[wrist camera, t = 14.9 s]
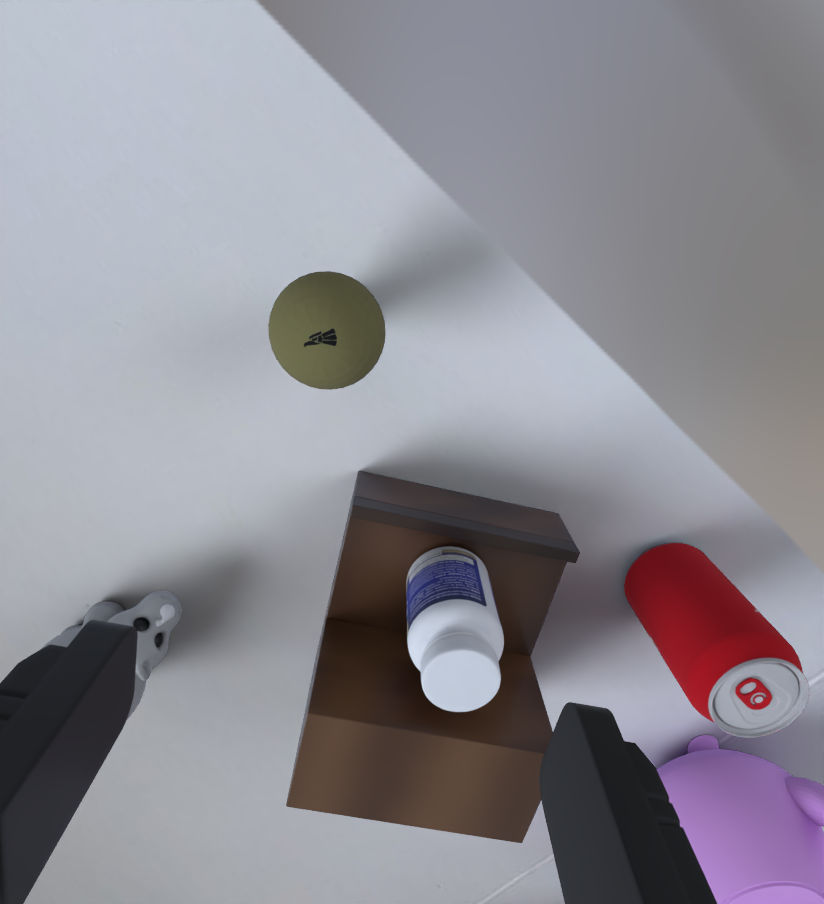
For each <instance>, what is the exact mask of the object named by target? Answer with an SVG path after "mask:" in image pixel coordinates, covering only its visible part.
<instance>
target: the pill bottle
mask: <svg viewBox="0 0 824 904" xmlns="http://www.w3.org/2000/svg"><path fill="white" fill-rule="evenodd" d="M406 596H407V644H408V650H409V654H410V657H411V659H412V661H413V663H414V664H415V666H416V667H417V669H418V670H419V671H420V672H421V684H422V689H423V691H424V693H425V695H426V697H427V698H428V699H429V701H431V702H432V703H433V704H434V705H436V706H437V707H439V708H441V709H444V710H447V711H453V712H467V711H471V710H475V709H478V708H480V707H482V706H484V705H486V704H487V703H488V702H489V701H491V700H492V698H493V697H494V696H495V695H496V693H497V692H498V689H499V687H500V682H501V674H500V668H499V662H498V661H499V660H500V657H501V655H502V652H503V647H504V635H503V630H502V625H501V622H500V618H499V614H498V611H497V607H496V603H495V599H494V595H493V591H492V587H491V582H490V578H489V575H488V572H487V569H486V567H485V565H484V564H483V562H482V561H481V560H480V559H479V558H478V557H477V556H476V555H475V554H473V553H472V552H470V551H468V550H466V549H463V548H459V547H453V546H446V547H439V548H435V549H432V550H430V551H428V552H426V553H424V554H423V555H421V556H420V557H419V558H418V559H417V560H416V561H415V562H414V563H413V565H412V566H411V568H410V570H409V572H408V575H407V580H406Z"/></svg>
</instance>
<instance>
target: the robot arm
mask: <svg viewBox="0 0 824 904" xmlns="http://www.w3.org/2000/svg"><path fill="white" fill-rule="evenodd" d="M137 639H138V633H137V628H136V627H134V626H129V625H123V624H117V623H111V622H105V621H99V620H90V621H89V622H87V623H86V624H85V626H84V627H83V628H82V629H81V630H80V632H79V633H78V634H77V635H76V637H75V638H74V639H73V640H72V642H71V643H70V644H69V645H68V647H63V646H57V645H51V644H49V645H47V646H46V647H44V648H43V649H41V650H39V651H38V652H36V653H34V654H33V655H31V656H29V657H28V658H26V659H25V660H23V661H21V662H20V663H18V664H17V665H16V666H15V668H14V669H13V670H12V671H11V672H10V673H9V674H8V675H7V677H6V678H5V679H4V680H3V681H2V682H1V683H0V904H23V903H24V901H25V899H26V898H27V896H28V894H29V892H30V891H31V889H32V887H33V885H34V884H35V882H36V880H37V878H38V877H39V875H40V873H41V871H42V870H43V868H44V866H45V864H46V862H47V861H48V859H49V857H50V855H51V854H52V852H53V850H54V848H55V847H56V845H57V843H58V841H59V840H60V838H61V836H62V834H63V833H64V831H65V829H66V827H67V826H68V824H69V822H70V820H71V818H72V817H73V815H74V813H75V811H76V810H77V808H78V806H79V804H80V803H81V801H82V799H83V797H84V796H85V794H86V792H87V790H88V789H89V787H90V785H91V783H92V782H93V780H94V778H95V776H96V774H97V773H98V771H99V769H100V767H101V766H102V764H103V762H104V760H105V759H106V757H107V755H108V753H109V752H110V750H111V748H112V746H113V745H114V743H115V741H116V739H117V738H118V736H119V734H120V732H121V730H122V729H123V727H124V724H125V722H126V720H127V717H128V715H129V712H130V709H131V705H132V701H133V697H134V689H135V672H136V656H137ZM539 786H540V795H541V800H542V805H543V809H544V813H545V818H546V822H547V827H548V831H549V835H550V840H551V844H552V848H553V853H554V857H555V861H556V866H557V870H558V875H559V879H560V883H561V888H562V892H563V896H564V901H565V904H717V902H716V899H715V897H714V895H713V893H712V890H711V888H710V886H709V884H708V882H707V879H706V877H705V875H704V873H703V871H702V868H701V866H700V864H699V862H698V860H697V857H696V855H695V853H694V851H693V849H692V846H691V844H690V842H689V840H688V838H687V835H686V833H685V831H684V829H683V827H680V820H679V818H678V815H677V813H676V811H675V809H674V807H673V804H672V803H670V802H669V796H668V793H667V791H666V789H665V787H664V785H663V782H662V780H661V778H660V776H659V774H658V771H657V769H656V768H655V767H654V766H653V764H652V763H651V762H650V761H649V759H648V758H647V757H646V756H645V755H644V753H643V752H642V751H641V750H640V749H639V747H638V746H637V745H636V744H635V743H631V742H625V741H624V740H623V738H622V735H621V733H620V730H619V728H618V726H617V723H616V721H615V718H614V716H613V714H612V713H611V711H610V710H608V709H606V708H601V707H595V706H589V705H583V704H577V703H571V702H569V703H567V704H566V705H565V706H564V707H563V710H562V712H561V714H560V717H559V719H558V722H557V724H556V727H555V729H554V732H553V734H552V737H551V739H550V742H549V744H548V746H547V749H546V751H545V754H544V756H543V759H542V763H541V767H540V777H539Z"/></svg>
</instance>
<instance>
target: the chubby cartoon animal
mask: <svg viewBox="0 0 824 904" xmlns="http://www.w3.org/2000/svg"><path fill="white" fill-rule="evenodd" d="M181 615H182V605H181V603H180V601H179V599H178V598H177V597H176V596H175V595H174V594H173V593H170V592H167V591H155V592H152V593H150V594H149V595H147V596H146V597H145V598H144V599H143V600H142V601H141V602H140V603H139V604H138V605H137V606H135V607H133V608H131V609H128V610H125V611H124V610H123V608H122V607H121V606H120V605H119V604H117V603H114V602H109V601H104V602H99V603H97V604H95V605H94V606H92V607H91V608H90V610H89V611H88V612H87V614H86V616H85V618H84V622H83V625H76V626H71V627H69V628H67V629H66V630H64V631H63V632H62V633H61V635H59V636H57V637H55V638H54V639H52V640H51V641H50V642H48V643H47V644H46V645H45V646H44V647H46V646H47V645H49V644H51V645H57V646H63V647H68V645H69V644H70V643H71V642H72V640H73V639H74V638H75V637H76V635H77V634H78V633H79V632H80V630H81V629H82V628H83V627H84V626H85V624H86V623H87V622H89V621H90V620H99V621H105V622H111V623H117V624H123V625H129V626H134V627H136V628H137V633H138V639H137V656H136V672H135V689H134V697H133V701H132V705H131V709H130V712H129V715H128V717H127V719H128V718H129V717H130V715H131V714H132V713H133V712H134V710H135V709H136V707H137V705H138V704H139V702H140V700H141V698H142V695H143V692H144V689H145V684H146V680H147V679H148V678H149V676H150V672H151V669H153V668H154V667H155V666H157V665H158V664H159V663H160V662H161V660H162V659H163V658H164V656H165V655H166V653H167V650H168V644H169V635H170V632H171V631H172V629H173V628H174V627H175V626H176V625H177V623H178V622H179V620H180V618H181ZM44 647H43V648H44ZM43 648H42V649H43Z"/></svg>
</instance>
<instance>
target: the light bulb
mask: <svg viewBox="0 0 824 904" xmlns="http://www.w3.org/2000/svg"><path fill="white" fill-rule="evenodd" d="M269 339H270V343H271V347H272V350H273V352H274V354H275V357H276V359H277V360H278V362H279V363H280V365H281V366H282V368H283V369H284V370H285V371H286V372H287V373H288V374H289V375H290V376H292V377H293V378H295V379H296V380H298V381H299V382H301V383H303V384H305V385H308V386H310V387H314V388H318V389H338V388H344V387H346V386H349V385H352V384H354V383H356V382H357V381H359V380H361V379H362V378H364V377H365V376H366V375H367V374H368V373H369V372H370V371H371V370H372V369H373V367H374V366H375V364H376V363H377V362H378V359H379V357H380V355H381V353H382V350H383V346H384V342H385V322H384V318H383V314H382V312H381V309H380V306H379V304H378V303H377V301H376V299H375V298H374V296H373V295H372V294H371V293H370V291H369V290H368V289H367V288H366V287H365V286H364V285H362V284H361V283H360V282H358V281H357V280H355V279H353V278H352V277H349V276H346V275H344V274H341V273H335V272H329V271H328V272H315V273H310V274H307V275H305V276H302V277H299V278H298V279H296V280H295V281H293V282H292V283H290V284H289V285H288V286H287V287H286V288H285V289H284V290H283V291H282V292H281V293H280V295H279V296H278V298H277V300H276V301H275V303H274V306H273V308H272V311H271V314H270V319H269Z"/></svg>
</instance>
